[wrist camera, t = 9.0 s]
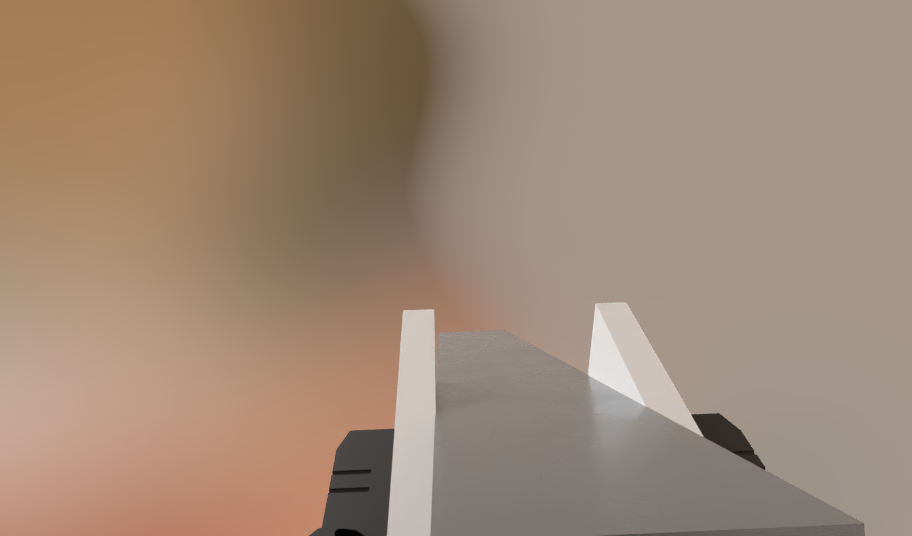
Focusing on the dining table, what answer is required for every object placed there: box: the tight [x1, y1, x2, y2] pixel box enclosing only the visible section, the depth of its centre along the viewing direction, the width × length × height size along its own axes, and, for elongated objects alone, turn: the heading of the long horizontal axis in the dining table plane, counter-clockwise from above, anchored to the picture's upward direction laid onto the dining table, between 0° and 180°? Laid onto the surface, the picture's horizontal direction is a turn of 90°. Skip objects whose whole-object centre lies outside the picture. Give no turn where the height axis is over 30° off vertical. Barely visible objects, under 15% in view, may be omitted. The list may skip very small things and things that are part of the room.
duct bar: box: [430, 330, 865, 536], centre depth 20 cm, size 30×4×4 cm, turn 2°
